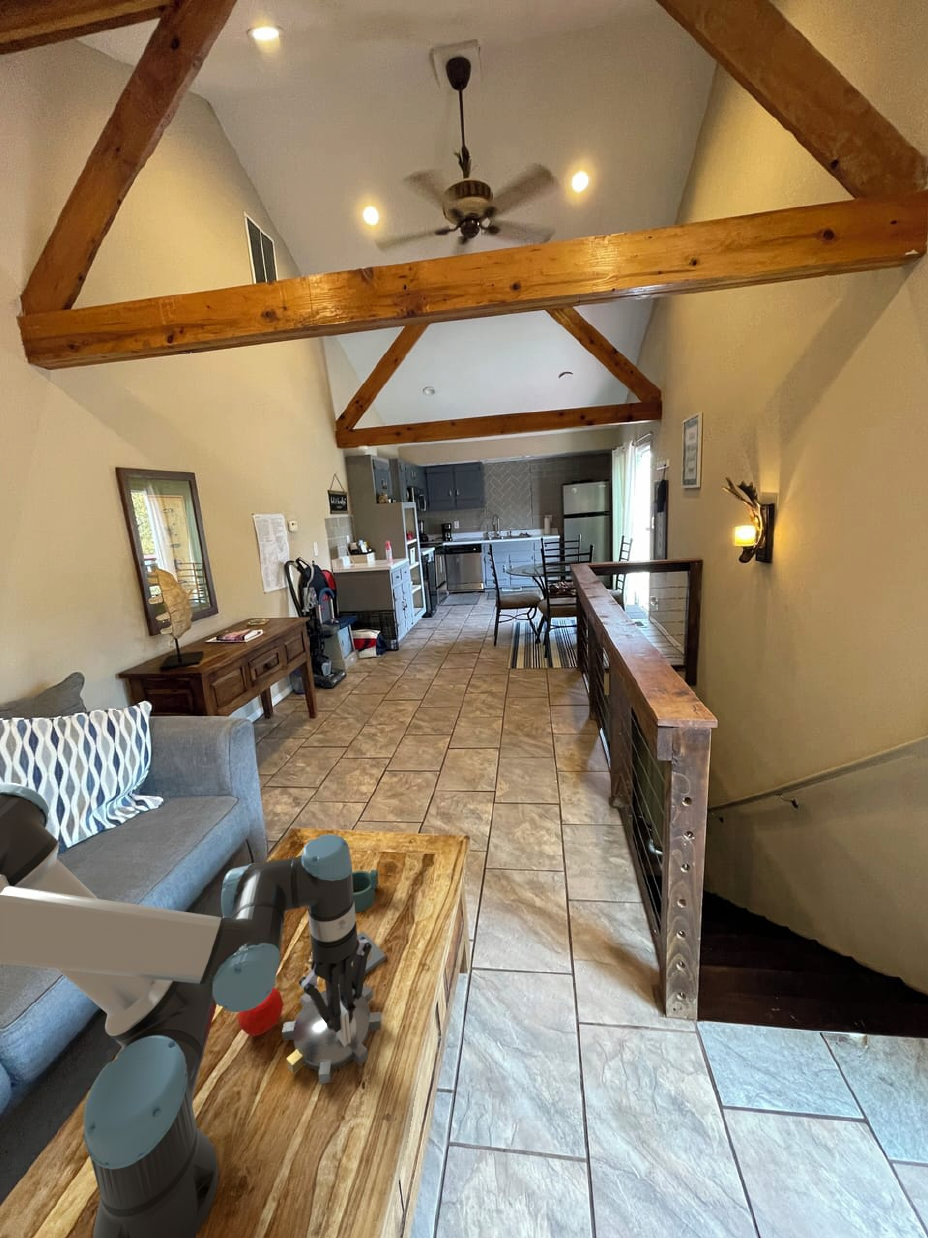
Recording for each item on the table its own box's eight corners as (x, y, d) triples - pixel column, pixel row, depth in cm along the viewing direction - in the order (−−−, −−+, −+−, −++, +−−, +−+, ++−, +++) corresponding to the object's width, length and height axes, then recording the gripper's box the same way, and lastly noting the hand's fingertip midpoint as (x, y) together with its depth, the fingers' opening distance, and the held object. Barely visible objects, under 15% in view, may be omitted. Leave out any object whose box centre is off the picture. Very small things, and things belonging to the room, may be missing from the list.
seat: (350, 985, 105) (349, 981, 105) (328, 959, 111) (328, 954, 111) (385, 959, 111) (385, 955, 111) (363, 935, 117) (363, 931, 117)
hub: (327, 1058, 91) (325, 1038, 90) (311, 1034, 96) (309, 1015, 95) (355, 1034, 95) (354, 1015, 94) (339, 1012, 100) (337, 994, 99)
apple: (259, 1056, 92) (254, 1024, 90) (231, 1035, 96) (226, 1003, 94) (293, 1018, 99) (289, 987, 97) (266, 999, 103) (262, 969, 101)
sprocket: (320, 1108, 83) (317, 1075, 81) (263, 1038, 94) (259, 1007, 93) (400, 1022, 96) (399, 992, 95) (342, 970, 108) (340, 942, 106)
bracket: (381, 903, 127) (379, 872, 125) (346, 918, 122) (343, 886, 121) (369, 881, 135) (367, 851, 133) (335, 895, 130) (332, 864, 128)
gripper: (307, 963, 78) (320, 1083, 83) (377, 917, 86) (385, 1028, 91) (286, 935, 83) (300, 1049, 88) (354, 894, 92) (363, 1000, 97)
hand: (343, 1038), depth 90 cm, fingers closed
